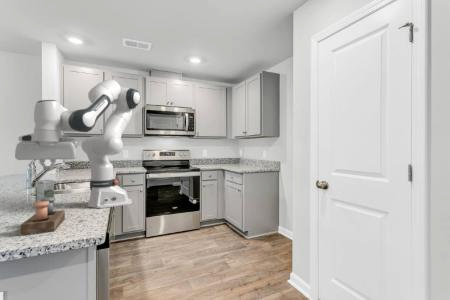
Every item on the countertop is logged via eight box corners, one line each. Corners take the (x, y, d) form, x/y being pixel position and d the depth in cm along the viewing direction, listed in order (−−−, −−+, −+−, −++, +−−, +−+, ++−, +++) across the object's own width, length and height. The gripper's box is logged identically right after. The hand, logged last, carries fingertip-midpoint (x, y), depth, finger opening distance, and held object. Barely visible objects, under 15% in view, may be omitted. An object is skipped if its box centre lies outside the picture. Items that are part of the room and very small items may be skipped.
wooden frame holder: (64, 219, 98) (64, 210, 98) (54, 231, 84) (54, 221, 84) (36, 222, 94) (36, 212, 94) (20, 235, 80) (20, 224, 80)
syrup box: (45, 205, 122) (45, 179, 122) (54, 205, 121) (54, 179, 120) (35, 208, 116) (34, 180, 116) (44, 208, 115) (43, 181, 115)
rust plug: (51, 215, 88) (50, 200, 88) (47, 219, 84) (47, 203, 84) (36, 217, 86) (36, 201, 86) (31, 221, 82) (31, 204, 82)
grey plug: (56, 210, 96) (56, 196, 96) (53, 213, 91) (53, 199, 91) (43, 212, 94) (42, 197, 94) (39, 215, 89) (38, 200, 89)
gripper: (78, 138, 99) (78, 168, 99) (20, 137, 91) (20, 170, 91) (75, 138, 94) (75, 170, 94) (13, 136, 85) (13, 172, 85)
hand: (47, 170), depth 92 cm, fingers closed
